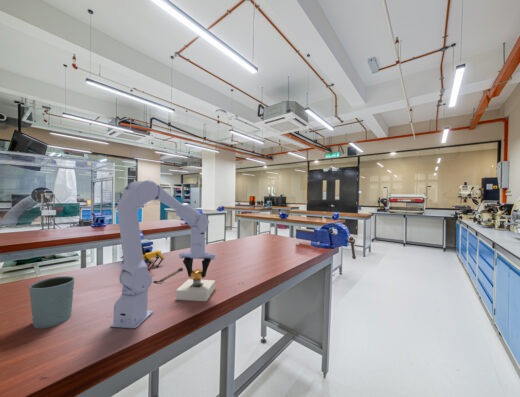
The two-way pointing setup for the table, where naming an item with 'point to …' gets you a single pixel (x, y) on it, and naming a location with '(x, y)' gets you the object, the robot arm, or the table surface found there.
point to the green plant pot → (51, 301)
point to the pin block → (195, 290)
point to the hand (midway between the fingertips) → (197, 276)
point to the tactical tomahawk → (168, 276)
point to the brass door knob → (196, 277)
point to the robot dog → (152, 254)
